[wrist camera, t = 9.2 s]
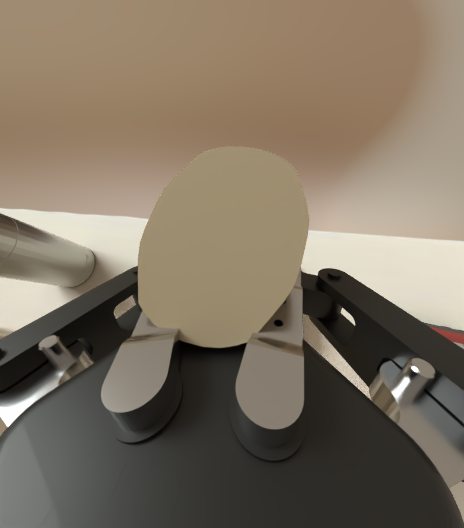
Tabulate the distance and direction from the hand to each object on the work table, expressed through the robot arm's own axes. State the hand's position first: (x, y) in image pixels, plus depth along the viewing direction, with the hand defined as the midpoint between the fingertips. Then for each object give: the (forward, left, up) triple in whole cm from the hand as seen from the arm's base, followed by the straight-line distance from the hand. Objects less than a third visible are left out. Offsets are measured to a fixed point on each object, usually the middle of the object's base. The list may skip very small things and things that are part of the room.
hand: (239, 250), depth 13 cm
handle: (0, -2, -8) cm, 8 cm away
